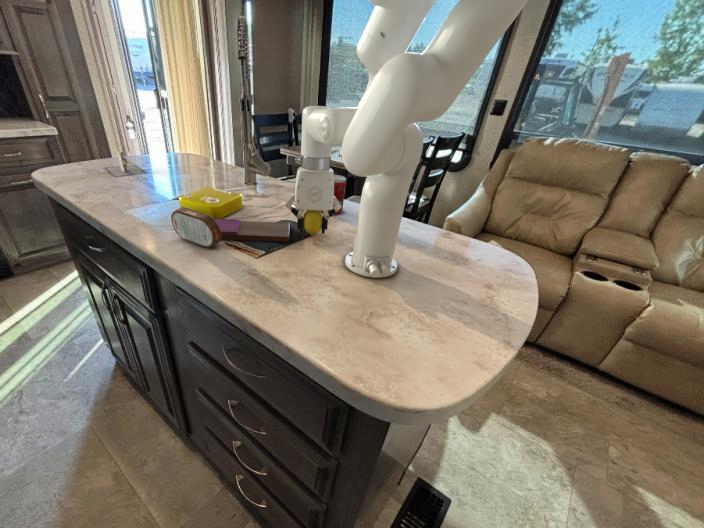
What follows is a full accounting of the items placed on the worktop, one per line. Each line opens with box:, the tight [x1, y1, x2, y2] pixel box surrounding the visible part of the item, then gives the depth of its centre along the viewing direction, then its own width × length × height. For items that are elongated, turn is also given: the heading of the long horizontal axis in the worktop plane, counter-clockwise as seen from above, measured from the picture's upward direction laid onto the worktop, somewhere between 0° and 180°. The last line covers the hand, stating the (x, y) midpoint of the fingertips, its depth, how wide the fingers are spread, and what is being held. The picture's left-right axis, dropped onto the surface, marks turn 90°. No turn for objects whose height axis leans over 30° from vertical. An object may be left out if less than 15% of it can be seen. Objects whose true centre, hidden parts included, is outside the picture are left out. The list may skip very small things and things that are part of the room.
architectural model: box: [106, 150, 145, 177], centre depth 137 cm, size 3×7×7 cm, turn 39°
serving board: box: [215, 220, 290, 243], centre depth 92 cm, size 10×22×2 cm, turn 92°
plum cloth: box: [216, 218, 242, 234], centre depth 91 cm, size 9×7×1 cm
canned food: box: [320, 174, 347, 216], centre depth 108 cm, size 8×8×11 cm
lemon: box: [302, 210, 323, 236], centre depth 90 cm, size 6×6×8 cm
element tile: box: [178, 186, 243, 220], centre depth 105 cm, size 15×15×5 cm
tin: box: [170, 207, 222, 249], centre depth 83 cm, size 15×3×8 cm, turn 59°
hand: (311, 230), depth 92 cm, fingers closed on lemon, 5 cm apart
